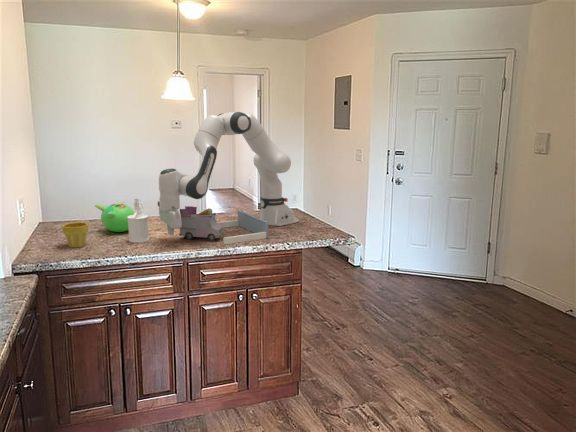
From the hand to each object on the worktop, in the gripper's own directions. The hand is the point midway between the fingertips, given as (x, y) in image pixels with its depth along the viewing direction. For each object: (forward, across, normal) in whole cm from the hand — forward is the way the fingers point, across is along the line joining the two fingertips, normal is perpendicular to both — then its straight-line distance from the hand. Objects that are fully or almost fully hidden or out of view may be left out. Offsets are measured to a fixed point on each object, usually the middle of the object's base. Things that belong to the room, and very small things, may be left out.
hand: (171, 234), depth 219 cm
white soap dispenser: (+4, +11, +12) cm, 17 cm away
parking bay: (+4, 0, -31) cm, 31 cm away
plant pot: (+4, +16, +38) cm, 42 cm away
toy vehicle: (+4, 0, -15) cm, 16 cm away
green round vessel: (+4, +33, +16) cm, 37 cm away
